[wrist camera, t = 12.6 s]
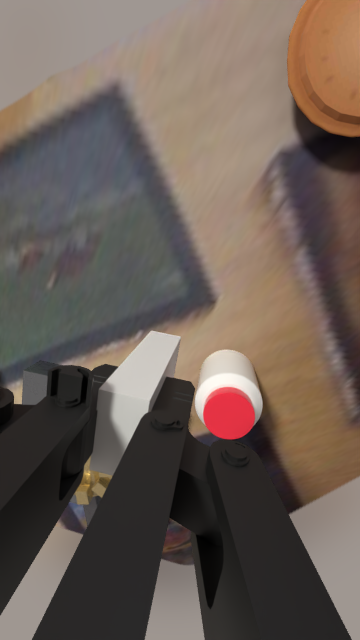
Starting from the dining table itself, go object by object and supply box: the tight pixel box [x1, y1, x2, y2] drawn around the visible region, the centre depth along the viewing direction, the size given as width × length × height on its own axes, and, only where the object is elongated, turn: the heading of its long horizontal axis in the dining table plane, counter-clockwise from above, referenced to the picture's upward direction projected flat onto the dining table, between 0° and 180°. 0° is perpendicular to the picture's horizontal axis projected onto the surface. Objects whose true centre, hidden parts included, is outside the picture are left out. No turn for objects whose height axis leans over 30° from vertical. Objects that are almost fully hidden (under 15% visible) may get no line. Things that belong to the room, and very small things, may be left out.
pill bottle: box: [195, 350, 263, 439], centre depth 37 cm, size 8×8×11 cm
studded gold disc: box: [74, 456, 112, 526], centre depth 42 cm, size 17×10×4 cm, turn 6°
